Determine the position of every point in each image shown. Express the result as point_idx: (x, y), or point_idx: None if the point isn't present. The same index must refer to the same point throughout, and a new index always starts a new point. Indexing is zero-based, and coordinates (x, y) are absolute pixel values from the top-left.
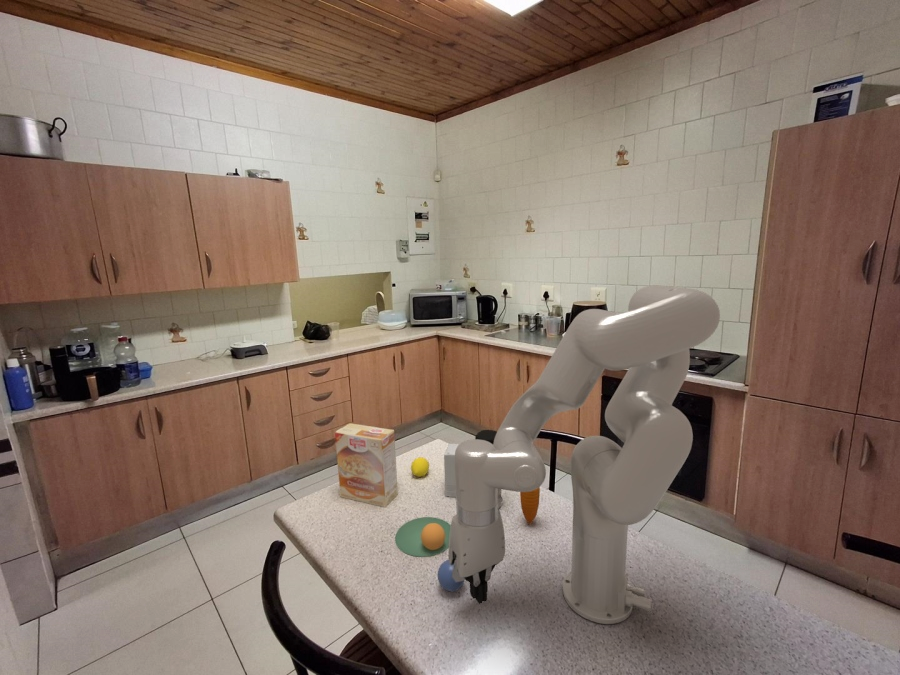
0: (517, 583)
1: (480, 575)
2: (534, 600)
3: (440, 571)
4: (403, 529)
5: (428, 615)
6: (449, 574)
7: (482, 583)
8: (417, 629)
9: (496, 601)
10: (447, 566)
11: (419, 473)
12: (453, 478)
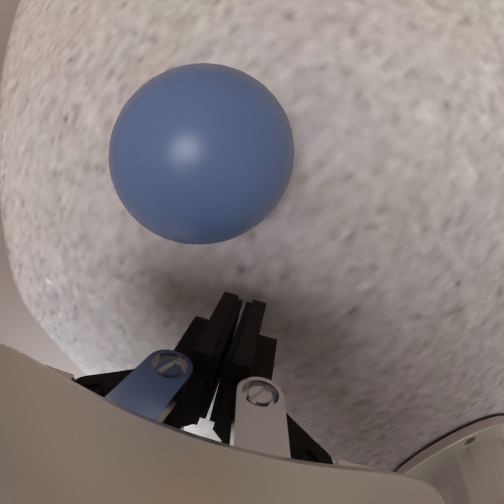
0: (427, 350)
1: (218, 419)
2: (385, 416)
3: (113, 128)
4: None
5: (77, 201)
6: (124, 201)
7: (210, 418)
8: (39, 219)
9: (305, 349)
10: (127, 156)
11: None
12: None
